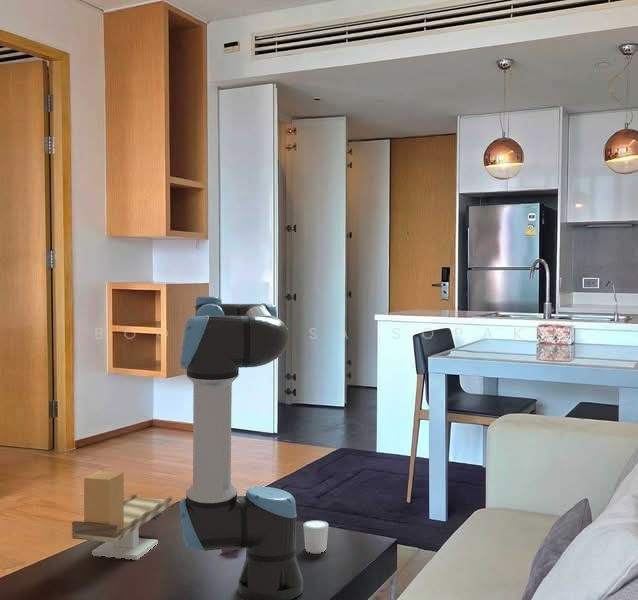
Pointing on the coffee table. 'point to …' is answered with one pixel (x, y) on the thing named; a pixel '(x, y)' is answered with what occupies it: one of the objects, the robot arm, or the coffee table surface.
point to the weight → (104, 498)
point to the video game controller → (228, 550)
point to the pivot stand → (126, 547)
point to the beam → (134, 517)
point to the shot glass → (315, 536)
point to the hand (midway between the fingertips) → (208, 430)
